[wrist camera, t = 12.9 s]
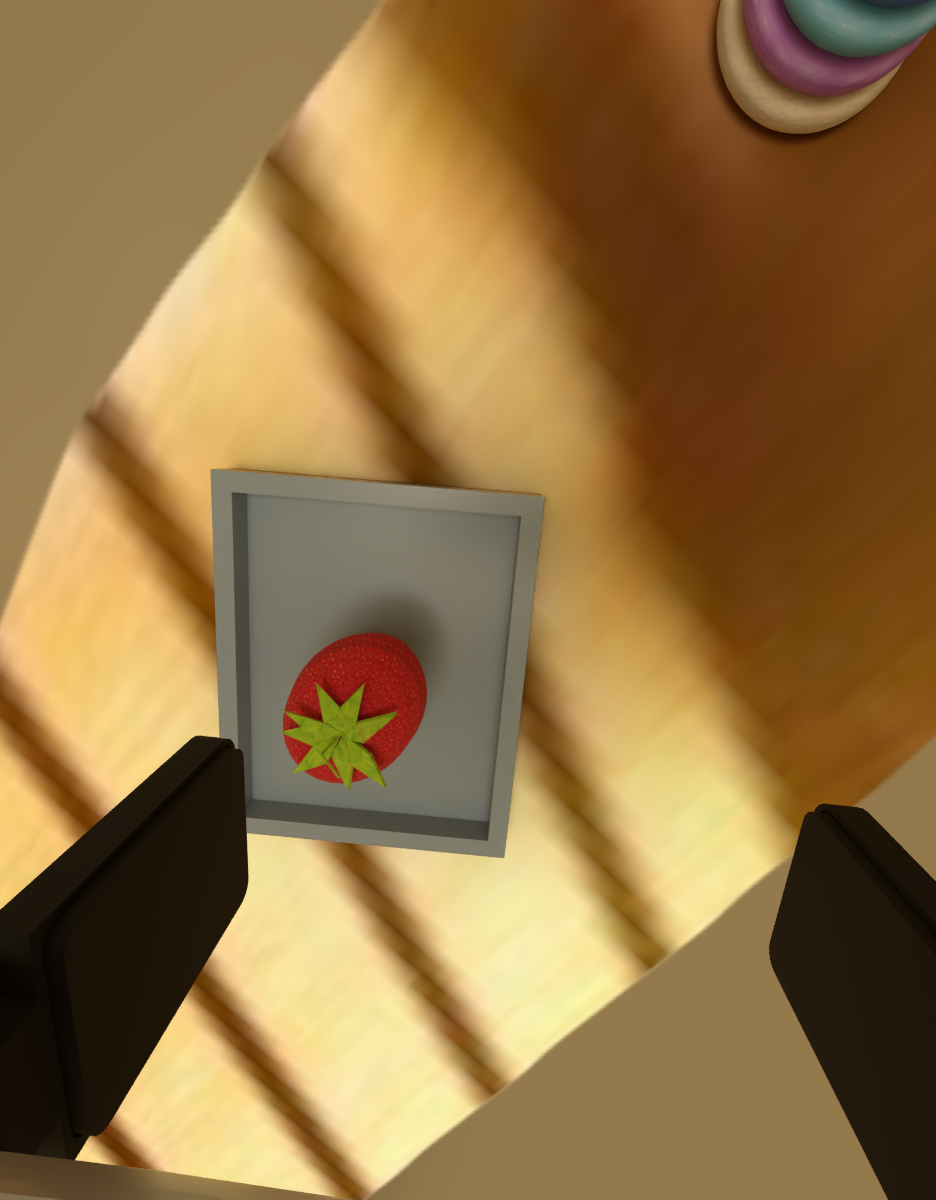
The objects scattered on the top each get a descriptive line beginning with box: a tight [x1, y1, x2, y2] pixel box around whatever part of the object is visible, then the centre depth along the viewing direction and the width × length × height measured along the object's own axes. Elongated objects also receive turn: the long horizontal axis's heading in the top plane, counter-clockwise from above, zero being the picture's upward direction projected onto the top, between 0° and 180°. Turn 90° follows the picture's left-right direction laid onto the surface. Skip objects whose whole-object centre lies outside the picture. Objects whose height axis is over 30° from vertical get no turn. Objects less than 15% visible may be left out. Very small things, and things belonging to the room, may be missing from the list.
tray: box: [211, 469, 545, 858], centre depth 30 cm, size 16×20×2 cm
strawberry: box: [281, 632, 427, 790], centre depth 25 cm, size 6×8×10 cm
